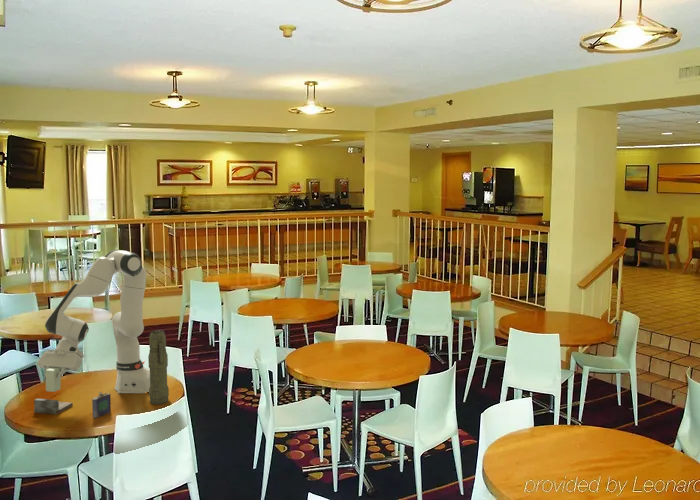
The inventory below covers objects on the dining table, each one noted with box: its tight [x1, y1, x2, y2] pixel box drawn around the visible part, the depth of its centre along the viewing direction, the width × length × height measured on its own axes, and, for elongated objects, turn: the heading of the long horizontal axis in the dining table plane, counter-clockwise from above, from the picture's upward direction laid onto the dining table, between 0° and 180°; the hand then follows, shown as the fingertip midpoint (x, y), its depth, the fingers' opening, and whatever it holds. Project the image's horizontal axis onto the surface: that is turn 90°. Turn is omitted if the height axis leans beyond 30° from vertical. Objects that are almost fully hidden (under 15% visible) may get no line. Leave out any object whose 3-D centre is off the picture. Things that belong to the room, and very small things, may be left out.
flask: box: [91, 391, 112, 419], centre depth 268 cm, size 9×3×11 cm, turn 151°
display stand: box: [33, 398, 74, 415], centre depth 274 cm, size 12×11×6 cm
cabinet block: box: [44, 367, 62, 393], centre depth 274 cm, size 4×4×10 cm
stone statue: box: [147, 329, 170, 405], centre depth 284 cm, size 9×12×35 cm
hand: (52, 377), depth 273 cm, fingers closed on cabinet block, 4 cm apart
